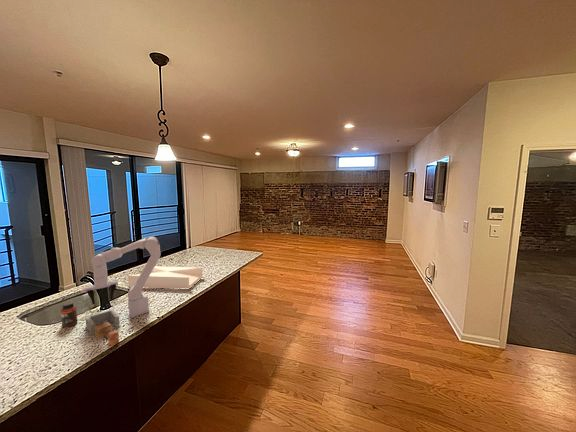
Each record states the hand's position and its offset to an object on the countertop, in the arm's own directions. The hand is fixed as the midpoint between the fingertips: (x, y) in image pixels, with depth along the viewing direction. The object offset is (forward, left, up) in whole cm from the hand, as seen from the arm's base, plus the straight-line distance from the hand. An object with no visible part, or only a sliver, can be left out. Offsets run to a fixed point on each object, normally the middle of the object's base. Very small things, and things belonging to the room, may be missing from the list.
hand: (102, 301), depth 131 cm
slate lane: (+2, +9, -10) cm, 14 cm away
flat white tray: (-45, -28, -11) cm, 54 cm away
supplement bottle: (+13, -6, -10) cm, 18 cm away
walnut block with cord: (+3, +23, -10) cm, 25 cm away
